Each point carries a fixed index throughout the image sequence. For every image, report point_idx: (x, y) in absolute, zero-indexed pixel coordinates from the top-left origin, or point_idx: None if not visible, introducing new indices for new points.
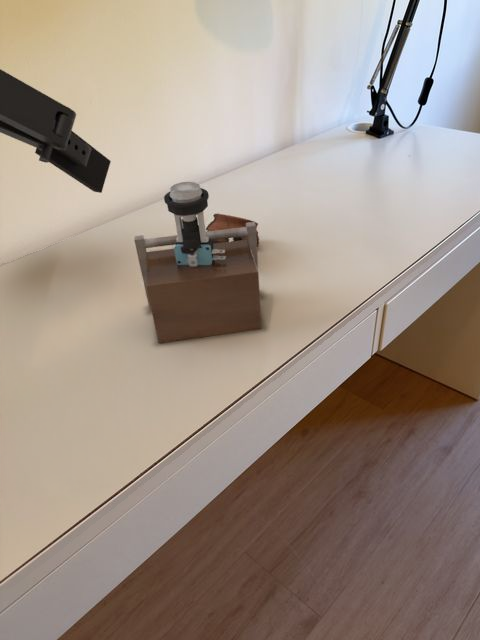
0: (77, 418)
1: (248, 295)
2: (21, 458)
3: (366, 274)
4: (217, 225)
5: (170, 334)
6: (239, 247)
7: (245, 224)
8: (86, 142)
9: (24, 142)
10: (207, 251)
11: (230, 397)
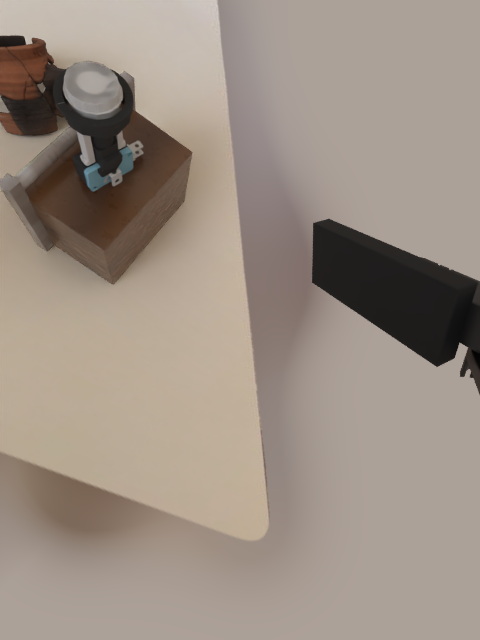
0: (150, 417)
1: (181, 181)
2: (158, 490)
3: (198, 70)
4: (6, 72)
5: (122, 269)
6: None
7: (41, 53)
8: (383, 242)
9: (476, 384)
10: (129, 157)
11: (240, 292)
